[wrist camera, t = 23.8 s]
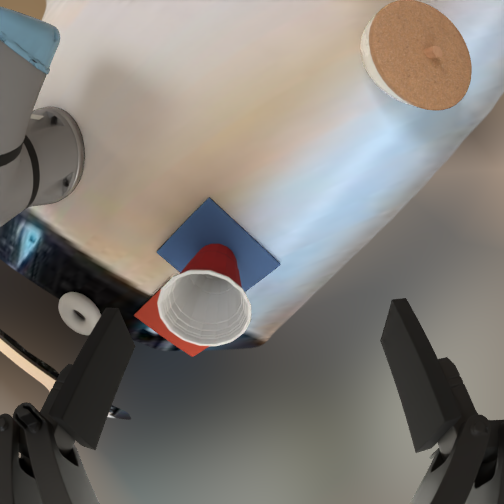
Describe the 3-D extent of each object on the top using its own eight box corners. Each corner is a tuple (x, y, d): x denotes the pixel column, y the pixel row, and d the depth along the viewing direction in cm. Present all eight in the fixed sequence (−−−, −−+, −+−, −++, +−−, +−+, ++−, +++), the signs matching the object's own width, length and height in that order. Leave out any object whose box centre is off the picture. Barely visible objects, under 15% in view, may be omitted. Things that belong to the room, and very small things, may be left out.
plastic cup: (270, 251, 41) (271, 306, 31) (229, 300, 46) (220, 358, 35) (203, 210, 39) (181, 255, 28) (169, 266, 43) (143, 319, 33)
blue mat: (224, 306, 47) (224, 307, 47) (157, 251, 42) (156, 252, 42) (280, 263, 43) (280, 265, 42) (209, 197, 38) (208, 197, 38)
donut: (112, 311, 50) (71, 279, 46) (105, 324, 47) (63, 290, 43) (94, 333, 53) (57, 305, 50) (88, 345, 50) (50, 316, 47)
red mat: (192, 355, 54) (192, 357, 53) (134, 314, 49) (133, 315, 49) (234, 327, 49) (234, 329, 49) (171, 278, 45) (170, 279, 44)
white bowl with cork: (349, 101, 31) (383, 103, 21) (343, 10, 25) (371, -18, 15) (434, 111, 30) (483, 121, 20) (429, 28, 24) (476, 15, 14)
